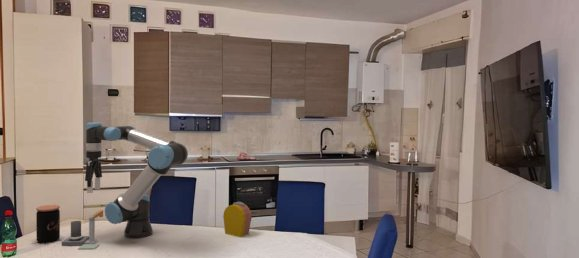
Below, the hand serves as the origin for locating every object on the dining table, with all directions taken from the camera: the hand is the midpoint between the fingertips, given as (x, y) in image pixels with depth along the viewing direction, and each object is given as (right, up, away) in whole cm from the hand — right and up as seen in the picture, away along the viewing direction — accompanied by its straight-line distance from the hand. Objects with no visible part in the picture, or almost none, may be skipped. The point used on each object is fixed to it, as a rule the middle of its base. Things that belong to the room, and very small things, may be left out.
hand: (93, 190), depth 217 cm
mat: (+5, -26, -16) cm, 31 cm away
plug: (-5, -26, -9) cm, 28 cm away
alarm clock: (+78, -27, +12) cm, 83 cm away
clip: (+3, -15, -3) cm, 16 cm away
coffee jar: (-21, -26, -7) cm, 34 cm away
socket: (-2, -26, -9) cm, 28 cm away
